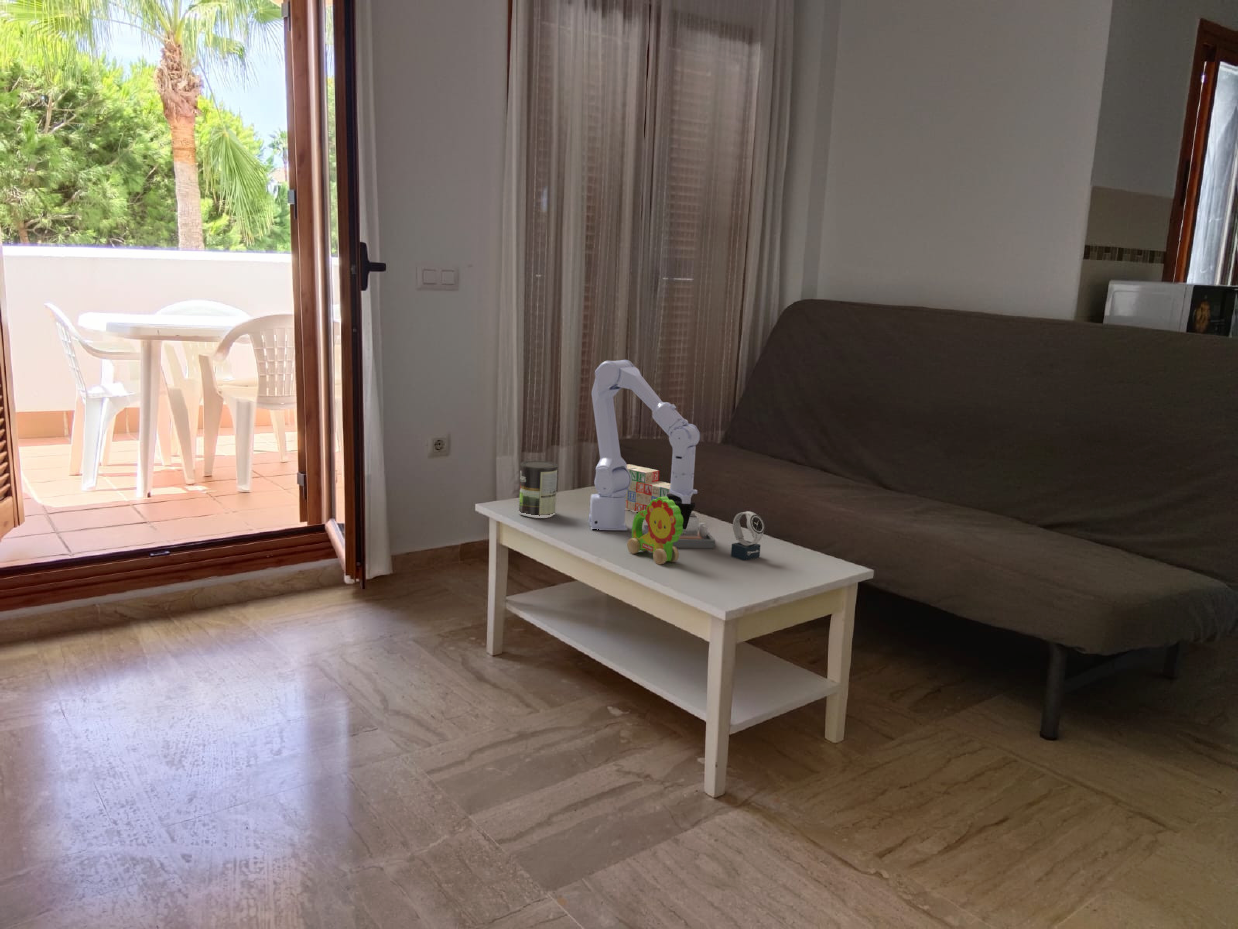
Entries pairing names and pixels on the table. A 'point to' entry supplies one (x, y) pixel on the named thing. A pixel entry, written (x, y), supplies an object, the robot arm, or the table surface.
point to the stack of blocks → (644, 488)
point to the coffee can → (538, 487)
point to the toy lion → (658, 530)
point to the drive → (691, 527)
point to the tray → (693, 539)
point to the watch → (743, 547)
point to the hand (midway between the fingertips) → (679, 525)
